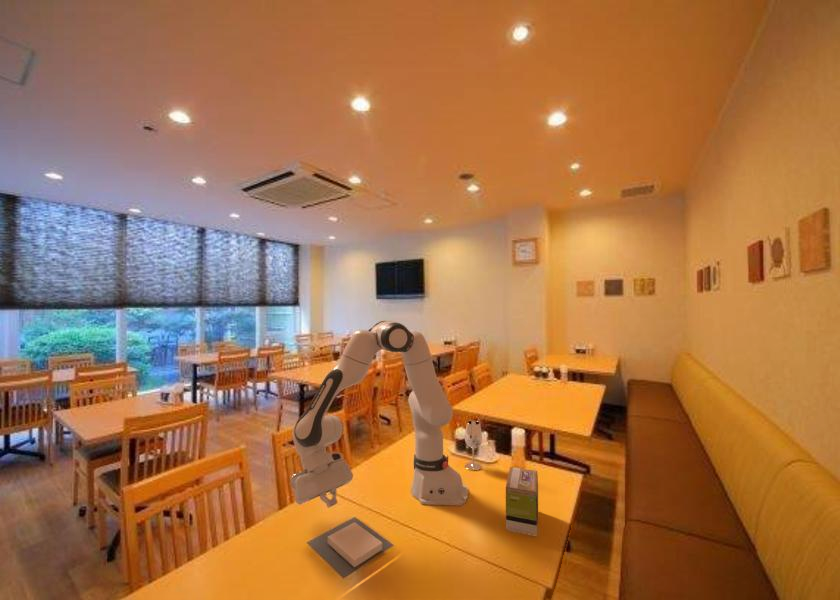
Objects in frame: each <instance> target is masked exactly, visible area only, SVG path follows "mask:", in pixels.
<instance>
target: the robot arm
mask: <svg viewBox="0 0 840 600" xmlns="http://www.w3.org/2000/svg"><path fill="white" fill-rule="evenodd" d="M381 350H384V351H388V352H391V353H400V355H401V358H402V363H403V366H404V370H405V373H406V377H407V381H408V384H409V386H410V388H411V389H412V391H411V392H410V393H409V394H408V395H409V396H408V402H407V403H408V405H409V408H410V411H411V419H412V423H413V424H412V425H413V429H414V431H413V432H414V448H415V449H414V455H413V470H414V471H413V479H412V484H411V487H410V494H411V496H413V497H414V498H415V499H417V500H418V501H419V503H420V504H422V505H429V506H430V505H433V506H434V505H436V506H437V505H439V506H462V505H464V504H466V502H467V501H468V498H469V489H468V486H467V485H466V484H465V483H463V479H462V476H461V474H460V473H459V472H458V471H457V470H455V469H454V468H453V467H452V466H450V464H449V456H448V455H447V456H445V454H444V434H443V431H442V429H441V428H442V427H446V426H447V425H448V424H449V423H450V422H451V420H453V419H452V418H453V416H454V410H453V407H452V405H451V403H450V402H449V400H448V399H447V397H446V395H445V392H444V389H443V388H442V385H441V383H440V381H439V379H438V376H437V373H436V370H435V366H434V363H433V359H432V354H431V351H430V348H429V346H428V342H427V341H426V338H425V336H424V335H423V334H422V333H421V332H420V331H415V330H414V331H410V330H409V329H408V328H407V327H406V326H405V325H404V324H403V323H400V322H397V321H392V320H383V321H382V320H381V321H378V322H377V323H376V324H374V325H373V326H371V328H369V329H368V330H367V329H359V330H356V331H354V333H353V334H352V335H351V337H350V339H349V340H348V342H347V344H346V345H345V348H344V349H343V351H342V354H341V355H340V357H339V359H338V362H337V363H336V364H335V366H334V367H333V368H332V370H331V371H329V372H328V373H327V375H326V376H325V378H324V380H322V382H321V384H320V385H319V387H318V389H317V391H316V393H315V394H314V397H312V400H311V401H310V403H309V405H308V407H307V408H306V410H305V411H304V412H303V413H302V415H301V416H300V417H299V418H298V419H297V420H296V421H297V422H296V423H295V425H294V426H293V428H292V432H291V433H292V435H291V436H292V440H293V444H294V447H295V450H296V452H297V454H298V456H299V457H300V463H301V466H302V469H303V470H301V471H299V472H296V473H293V474H292V475H291V477H290V479H289V484H290V486H291V488H292V490H293V495H294V500H295V503H296V504H297V505H300V506H301V505H303V504H305V503H307V502H310V501H311V500H314V499H316V498H318V497H319V499H320V500H321V501H322V502H323V503H324V504H325V505H326V507H327V508H328V509H329V508H331V507H333V506H336V505H337V504H338V500H337V490H338V488H342V487H343V486H345V485H348V484H350V483H351V481H353V478H354V477H353V476H354V475H353V472H352V469H351V467H350V466H349V464H348V462H347V461H346V460H345V459H343V458H344V455H343V453H342V452H327V450H326V448H327V447H328V446H330V445H332V444H334V443H337V442H338V441H339V440H340V439H341V437H342V436H343V432H344V425H343V421H342V419H341V418H340V417H339V416H337V415H334V414H332V415H331V414H327V412H328V411H329V409H330V407H331V405H332V404H333V401H334V400H335V398H336V396H337V395H338V394H339V393H340V392H342V391H343V390H345V389H347V388H349V387H351V386H355V385H358V384H360V383H362V381H363V380H364V379H365V377H366V376H367V375H368V372H369V370H370V368H371V365H372V362H373V360H374V358H375V357H376V355H377V353H378V352H379V351H381ZM327 493H329V494H330V495H332V496H331V499H329V498H328V496H327Z"/></svg>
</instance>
